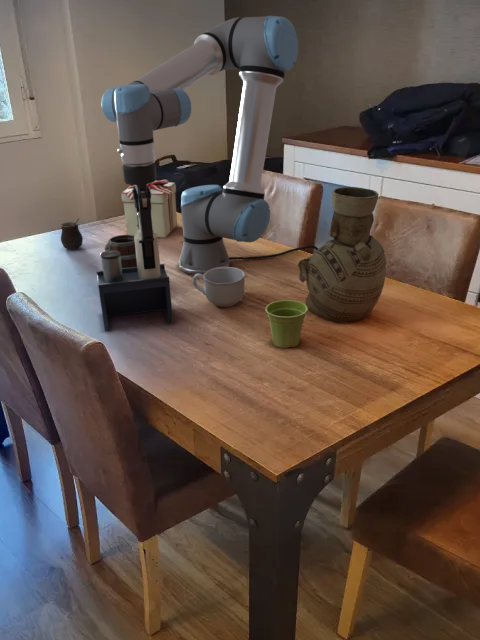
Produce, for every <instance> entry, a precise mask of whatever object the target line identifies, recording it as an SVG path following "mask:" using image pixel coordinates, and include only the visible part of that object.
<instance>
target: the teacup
mask: <svg viewBox="0 0 480 640" xmlns="http://www.w3.org/2000/svg"><path fill="white" fill-rule="evenodd" d="M245 277H246V272H244V270H242V269H240V268H238V267H233V266H229V267H217V268H213V269H210V270H208V271H207V272H206V273H205V274H204V275H203V274H200V273H198V274H195V275H193V276H192V280H191V282H192V285H193V287H194V288H195V289H196V290H198V291H200V292H201V293H202V294H203V296H205V297H206V299H207V300H208V302H210V303H211V304H213V305H214V306H216V307H220V308H228V307H229V308H230V307H233V306H235V305H236V304H237V303H239V302H240V301H241V300H242V299H243V298H244V295H245V289H246V287H245V285H246V284H245V283H246V282H245V281H246V278H245ZM198 278H199V279H201V281H202V282H203V285H204V287H202V286H201V285H200V284H199V283H198V282H197V279H198Z"/></svg>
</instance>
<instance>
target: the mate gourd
mask: <svg viewBox="0 0 480 640" xmlns="http://www.w3.org/2000/svg"><path fill="white" fill-rule="evenodd" d="M79 220H80V218H78V219H76V221H68V222H63V223H61V224H60V229H61V234H60V242H61V244H62V247H63V248H64V249H65V250H67V251H75V250H78V249H80V248H81V247H82V245H83V242H84V241H83V240H84V238H83V235H82V233H81V231H80V229H79V223H78V222H79Z"/></svg>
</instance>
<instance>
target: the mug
mask: <svg viewBox="0 0 480 640" xmlns="http://www.w3.org/2000/svg"><path fill="white" fill-rule="evenodd" d="M111 250H115V251H119V252H120V253H121V264H122V268H130V267H137V260H136V251H135V242H134V236H133V235H127V234H119V235H115V236H112V237H110V238H108V241H107V242H106V244H105V246H104V252H105V251H111Z"/></svg>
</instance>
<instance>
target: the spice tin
mask: <svg viewBox="0 0 480 640" xmlns="http://www.w3.org/2000/svg"><path fill="white" fill-rule="evenodd" d="M99 255H100V259H101V265H102V270H103V274H104V281H105V282H106V283H113V282H121V281H123V272H122V264H121V253H120V252H119V251H115V250H111V251H105V250H104V251H103V252H100V254H99Z"/></svg>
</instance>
